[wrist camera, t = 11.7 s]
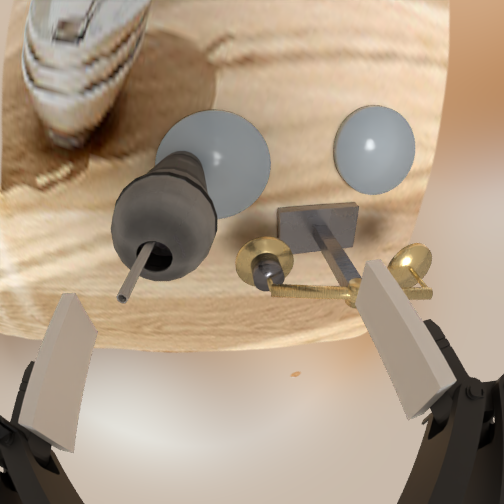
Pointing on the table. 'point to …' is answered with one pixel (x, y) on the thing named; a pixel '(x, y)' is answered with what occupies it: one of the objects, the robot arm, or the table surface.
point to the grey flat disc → (223, 157)
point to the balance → (330, 244)
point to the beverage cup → (164, 222)
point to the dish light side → (374, 149)
